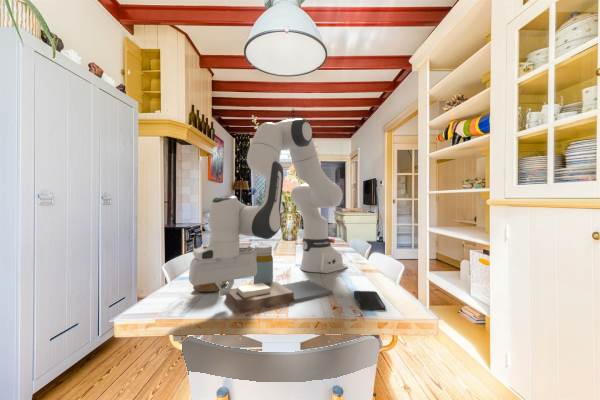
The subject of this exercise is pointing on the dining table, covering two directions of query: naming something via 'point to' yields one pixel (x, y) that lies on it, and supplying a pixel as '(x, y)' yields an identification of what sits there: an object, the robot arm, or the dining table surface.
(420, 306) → the dining table surface
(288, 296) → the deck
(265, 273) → the bottle
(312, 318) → the dining table surface
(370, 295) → the phone
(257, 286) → the tile
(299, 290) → the mat
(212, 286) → the stone cup
